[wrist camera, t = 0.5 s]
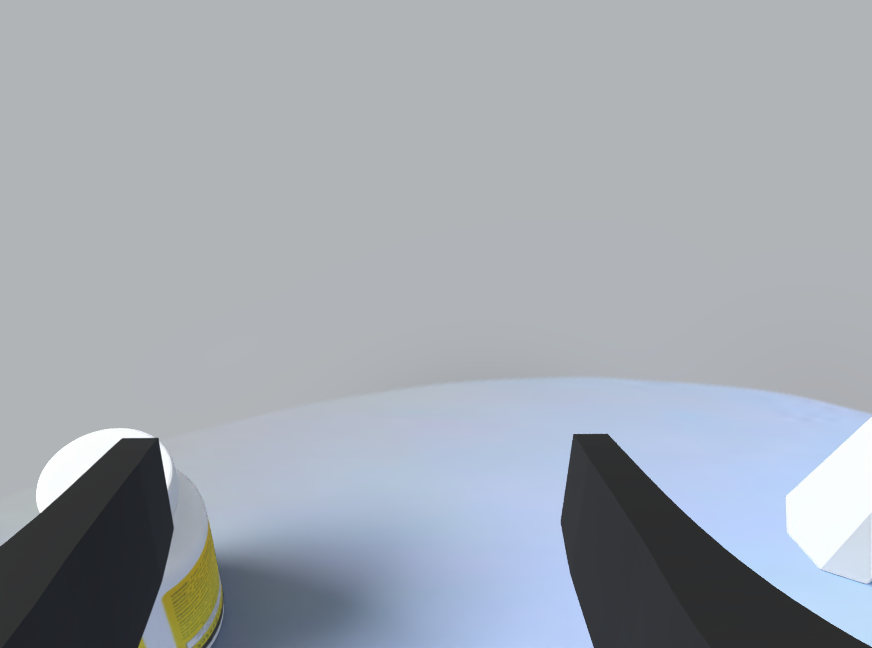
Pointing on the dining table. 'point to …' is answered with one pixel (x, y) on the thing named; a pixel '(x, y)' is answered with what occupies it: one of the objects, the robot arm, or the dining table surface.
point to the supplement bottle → (189, 551)
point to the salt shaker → (837, 510)
